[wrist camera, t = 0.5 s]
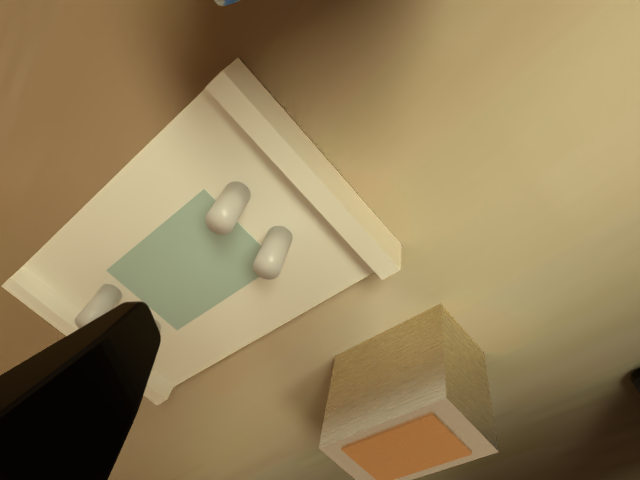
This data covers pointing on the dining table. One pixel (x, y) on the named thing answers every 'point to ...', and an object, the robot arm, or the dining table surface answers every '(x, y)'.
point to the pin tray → (211, 234)
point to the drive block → (409, 402)
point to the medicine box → (225, 2)
